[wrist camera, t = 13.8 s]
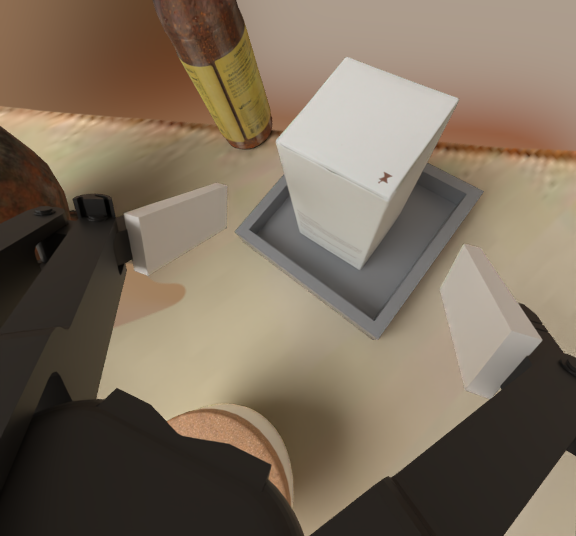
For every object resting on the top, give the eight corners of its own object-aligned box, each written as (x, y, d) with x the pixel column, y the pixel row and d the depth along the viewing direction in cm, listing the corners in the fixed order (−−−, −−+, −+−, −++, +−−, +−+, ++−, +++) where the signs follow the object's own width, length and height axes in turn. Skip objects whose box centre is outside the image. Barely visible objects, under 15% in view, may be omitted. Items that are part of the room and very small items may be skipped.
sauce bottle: (271, 105, 33) (194, -225, 14) (276, 147, 31) (194, -166, 12) (220, 116, 33) (79, -184, 14) (222, 157, 32) (63, -123, 13)
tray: (469, 205, 26) (484, 191, 23) (373, 339, 24) (378, 339, 21) (333, 133, 30) (333, 115, 28) (242, 241, 28) (234, 231, 26)
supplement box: (402, 212, 26) (468, 97, 14) (359, 272, 25) (389, 205, 13) (339, 177, 28) (347, 50, 16) (296, 231, 27) (271, 140, 15)
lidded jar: (171, 529, 22) (63, 656, 13) (188, 387, 25) (110, 412, 16) (301, 547, 20) (280, 706, 11) (303, 394, 23) (288, 425, 14)
